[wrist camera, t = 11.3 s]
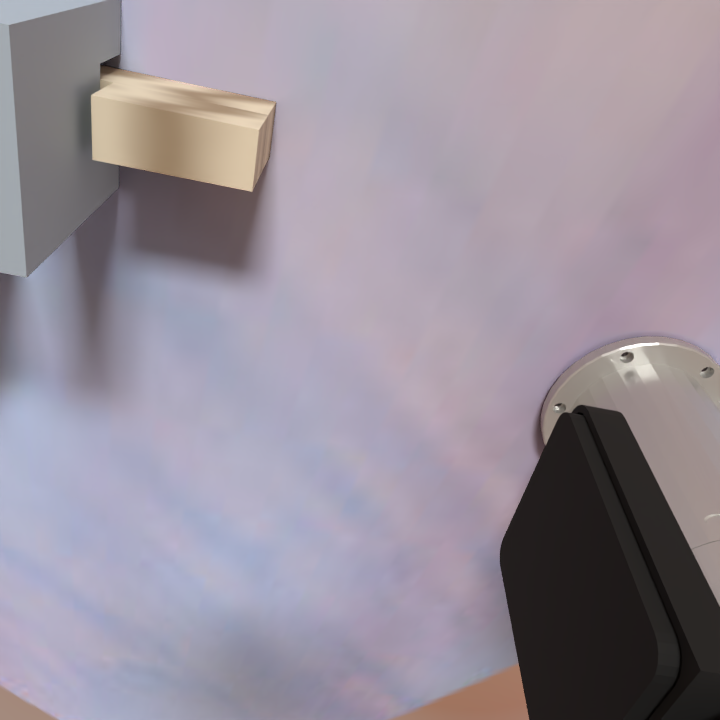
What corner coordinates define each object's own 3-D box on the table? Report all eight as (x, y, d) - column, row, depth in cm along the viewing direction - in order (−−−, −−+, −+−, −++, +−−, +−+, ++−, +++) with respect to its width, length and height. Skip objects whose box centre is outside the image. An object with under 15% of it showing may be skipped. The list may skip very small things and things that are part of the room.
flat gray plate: (60, -18, 33) (-81, 5, 23) (121, -4, 33) (8, 24, 23) (66, 176, 38) (-46, 263, 28) (118, 187, 39) (26, 277, 29)
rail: (276, 102, 36) (259, 129, 31) (269, 156, 38) (252, 191, 33) (-109, 20, 34) (-193, 36, 29) (-99, 81, 36) (-177, 105, 31)
